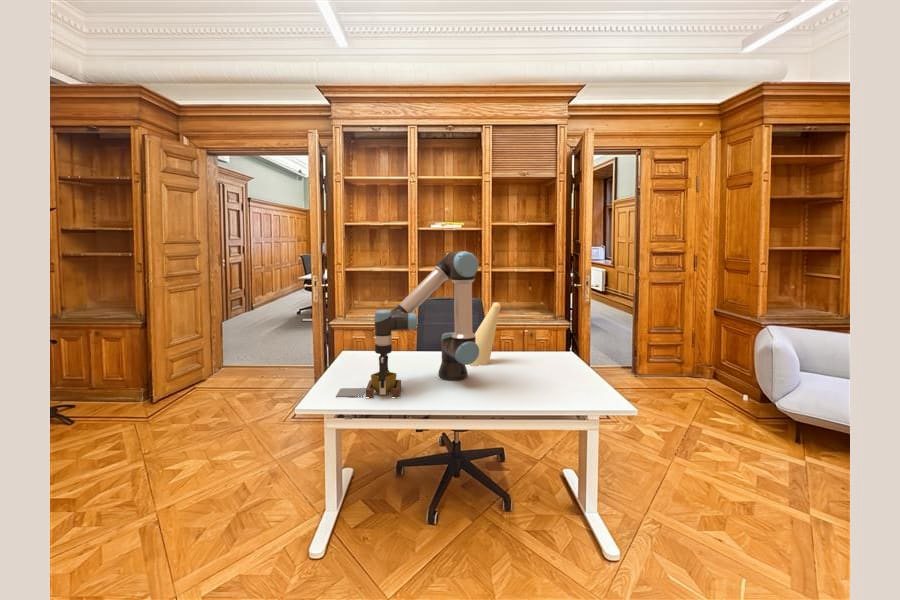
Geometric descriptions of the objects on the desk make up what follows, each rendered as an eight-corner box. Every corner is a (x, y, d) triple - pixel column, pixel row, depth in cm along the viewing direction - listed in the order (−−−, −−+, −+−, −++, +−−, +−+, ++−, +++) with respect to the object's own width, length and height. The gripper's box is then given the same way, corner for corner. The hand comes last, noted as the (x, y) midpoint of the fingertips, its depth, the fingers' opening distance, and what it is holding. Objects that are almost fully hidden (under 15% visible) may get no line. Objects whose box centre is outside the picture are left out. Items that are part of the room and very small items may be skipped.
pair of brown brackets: (401, 387, 238) (401, 379, 238) (399, 397, 224) (399, 389, 223) (369, 388, 238) (369, 380, 237) (365, 398, 223) (365, 389, 222)
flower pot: (397, 391, 232) (397, 373, 231) (385, 397, 225) (385, 377, 224) (382, 389, 237) (382, 370, 236) (370, 394, 229) (370, 374, 228)
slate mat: (366, 389, 236) (366, 388, 236) (362, 397, 224) (362, 396, 224) (340, 389, 236) (340, 388, 236) (335, 397, 224) (335, 396, 224)
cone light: (454, 365, 281) (454, 303, 276) (460, 357, 298) (460, 299, 294) (498, 367, 276) (499, 304, 272) (501, 359, 294) (502, 300, 289)
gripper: (377, 338, 239) (378, 382, 242) (372, 349, 216) (372, 398, 219) (393, 338, 240) (394, 382, 243) (389, 349, 216) (390, 398, 219)
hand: (384, 390), depth 231 cm, fingers closed on flower pot, 11 cm apart
